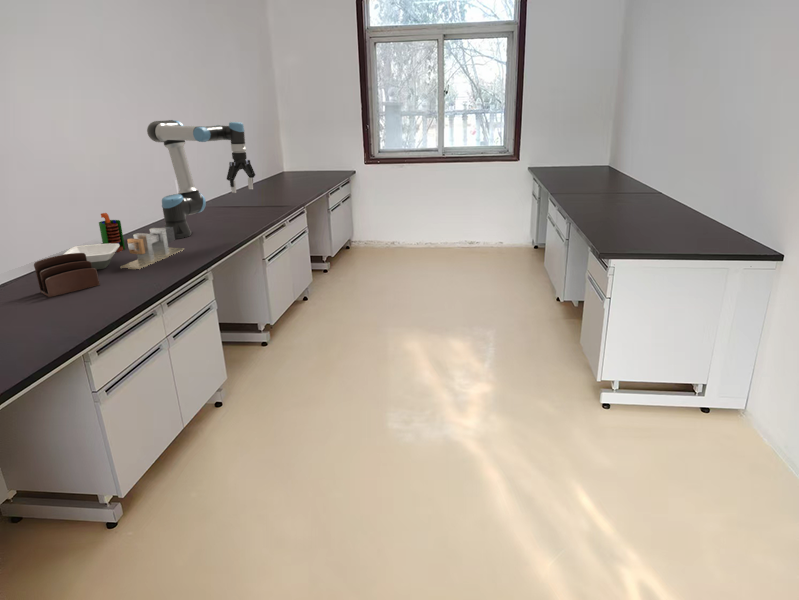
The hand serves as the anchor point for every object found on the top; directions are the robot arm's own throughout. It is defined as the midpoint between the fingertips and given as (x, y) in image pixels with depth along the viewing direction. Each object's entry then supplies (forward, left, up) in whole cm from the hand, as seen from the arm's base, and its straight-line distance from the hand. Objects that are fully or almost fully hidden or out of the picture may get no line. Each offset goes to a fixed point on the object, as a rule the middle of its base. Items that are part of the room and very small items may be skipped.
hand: (242, 191), depth 301 cm
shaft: (-25, -50, -21) cm, 60 cm away
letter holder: (-30, -98, -27) cm, 106 cm away
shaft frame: (-25, -50, -27) cm, 62 cm away
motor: (-56, -41, -27) cm, 74 cm away
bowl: (-44, -68, -27) cm, 85 cm away
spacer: (-25, -61, -21) cm, 69 cm away
